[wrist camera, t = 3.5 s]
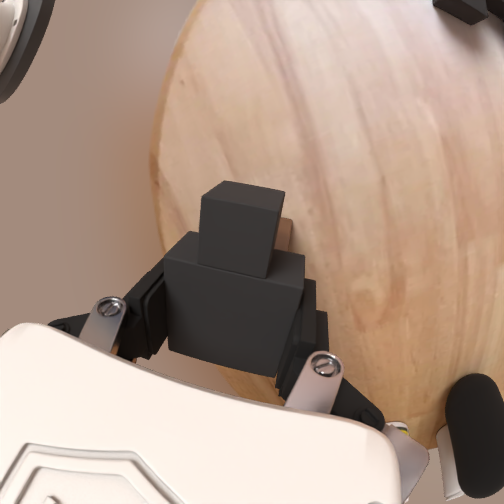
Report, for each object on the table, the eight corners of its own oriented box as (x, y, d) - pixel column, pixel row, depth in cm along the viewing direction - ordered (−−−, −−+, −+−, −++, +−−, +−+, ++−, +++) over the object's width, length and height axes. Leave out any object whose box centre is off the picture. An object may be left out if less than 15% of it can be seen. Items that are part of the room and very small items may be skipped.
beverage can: (432, 438, 26) (440, 503, 16) (439, 425, 24) (450, 497, 14) (459, 429, 25) (470, 491, 14) (467, 414, 23) (483, 483, 12)
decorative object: (427, 396, 22) (446, 515, 9) (466, 356, 19) (506, 485, 6) (461, 399, 22) (483, 500, 8) (496, 363, 19) (533, 469, 5)
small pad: (280, 341, 13) (274, 378, 11) (187, 317, 14) (168, 350, 12) (319, 198, 10) (323, 220, 8) (193, 175, 10) (163, 189, 8)
